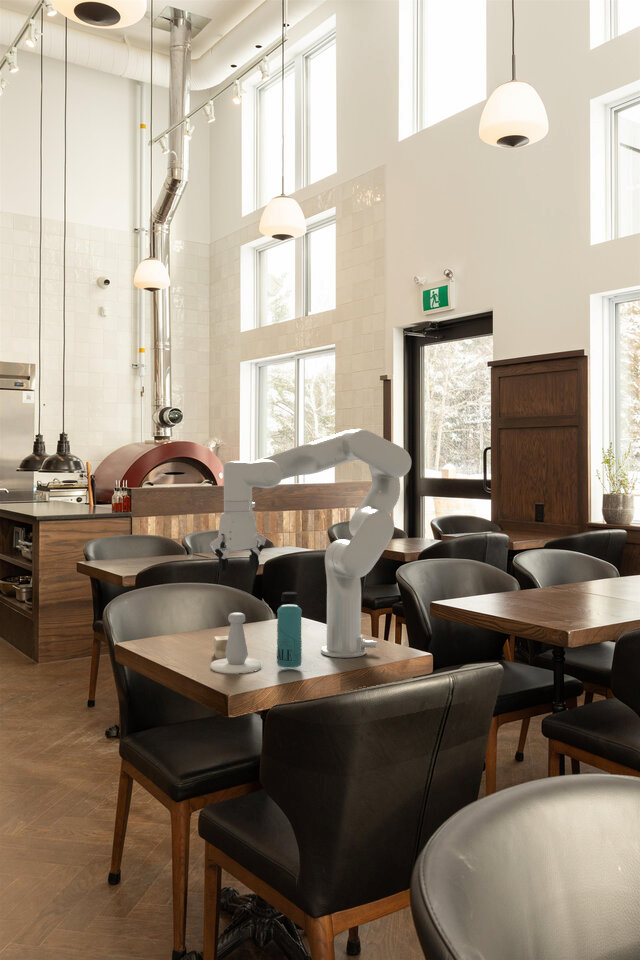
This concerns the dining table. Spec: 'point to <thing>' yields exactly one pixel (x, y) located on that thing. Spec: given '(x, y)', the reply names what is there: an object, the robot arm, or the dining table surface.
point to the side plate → (235, 666)
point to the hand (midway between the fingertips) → (239, 571)
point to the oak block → (220, 646)
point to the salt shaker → (236, 640)
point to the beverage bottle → (289, 632)
